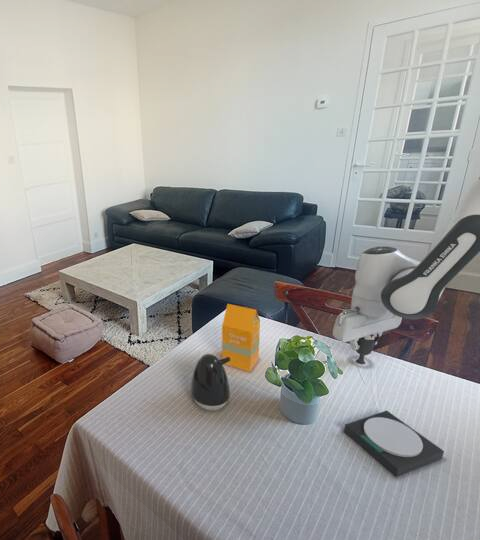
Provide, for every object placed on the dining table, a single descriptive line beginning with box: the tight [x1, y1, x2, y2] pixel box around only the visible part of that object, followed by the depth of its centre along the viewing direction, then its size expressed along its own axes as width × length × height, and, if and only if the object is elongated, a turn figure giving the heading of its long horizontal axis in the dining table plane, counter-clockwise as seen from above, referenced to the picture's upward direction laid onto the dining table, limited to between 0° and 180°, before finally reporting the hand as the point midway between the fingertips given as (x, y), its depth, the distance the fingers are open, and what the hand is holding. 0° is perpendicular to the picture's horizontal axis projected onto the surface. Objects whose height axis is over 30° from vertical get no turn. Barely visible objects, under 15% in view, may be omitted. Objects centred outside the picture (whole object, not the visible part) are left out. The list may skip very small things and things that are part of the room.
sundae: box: [355, 334, 381, 365], centre depth 97 cm, size 7×7×15 cm
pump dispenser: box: [190, 353, 231, 412], centre depth 89 cm, size 10×10×15 cm
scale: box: [343, 410, 445, 478], centre depth 73 cm, size 12×12×4 cm
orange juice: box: [221, 303, 261, 372], centre depth 103 cm, size 8×9×20 cm
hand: (363, 346), depth 98 cm, fingers closed on sundae, 5 cm apart
